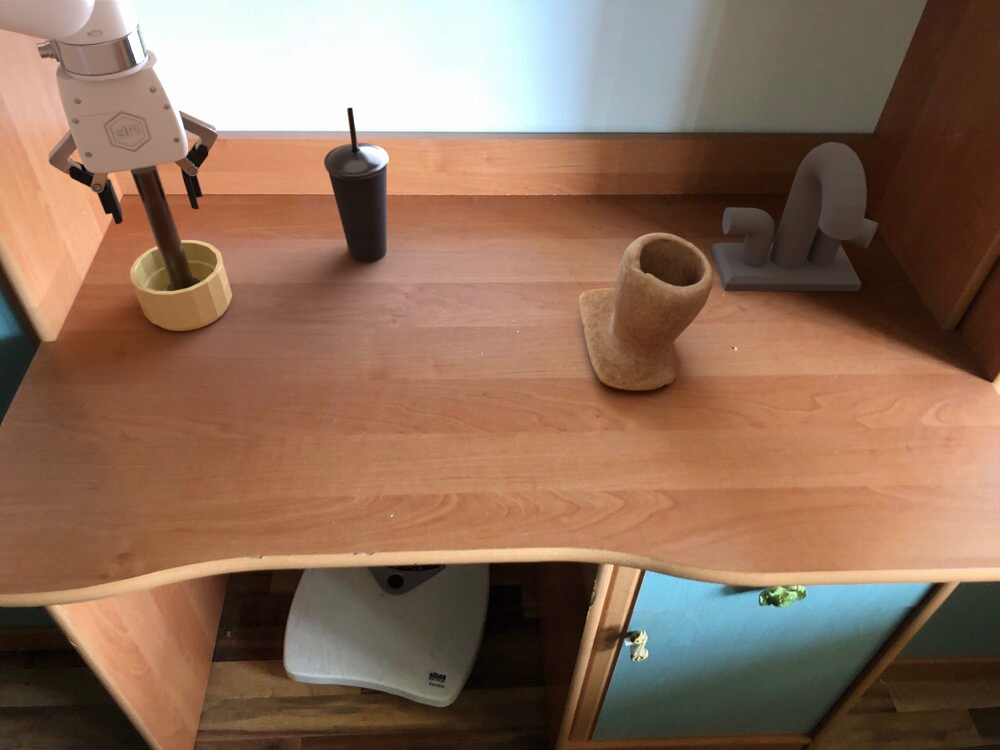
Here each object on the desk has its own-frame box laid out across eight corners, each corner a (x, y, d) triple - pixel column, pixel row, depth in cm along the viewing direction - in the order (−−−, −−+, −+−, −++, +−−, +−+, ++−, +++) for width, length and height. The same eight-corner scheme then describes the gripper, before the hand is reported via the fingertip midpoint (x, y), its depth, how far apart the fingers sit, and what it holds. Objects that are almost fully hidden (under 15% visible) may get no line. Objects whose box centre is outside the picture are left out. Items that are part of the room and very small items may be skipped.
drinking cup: (329, 264, 102) (305, 120, 88) (351, 230, 108) (331, 89, 93) (385, 273, 101) (370, 129, 87) (404, 239, 106) (393, 97, 92)
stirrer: (172, 314, 94) (124, 181, 81) (169, 293, 97) (121, 161, 84) (207, 306, 95) (165, 174, 82) (203, 286, 98) (161, 155, 85)
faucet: (732, 330, 95) (777, 184, 81) (706, 250, 106) (742, 110, 92) (882, 330, 95) (953, 186, 81) (841, 251, 106) (897, 111, 92)
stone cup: (698, 397, 87) (729, 291, 76) (591, 398, 87) (607, 292, 76) (672, 306, 98) (696, 202, 87) (576, 307, 97) (588, 203, 87)
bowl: (149, 342, 92) (133, 302, 87) (142, 289, 98) (127, 250, 94) (239, 321, 94) (227, 282, 90) (226, 271, 101) (215, 232, 97)
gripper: (-3, 79, 69) (72, 245, 82) (203, 51, 74) (243, 212, 86) (0, 45, 74) (70, 207, 87) (193, 20, 79) (233, 177, 91)
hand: (156, 208), depth 86 cm, fingers open, 7 cm apart
